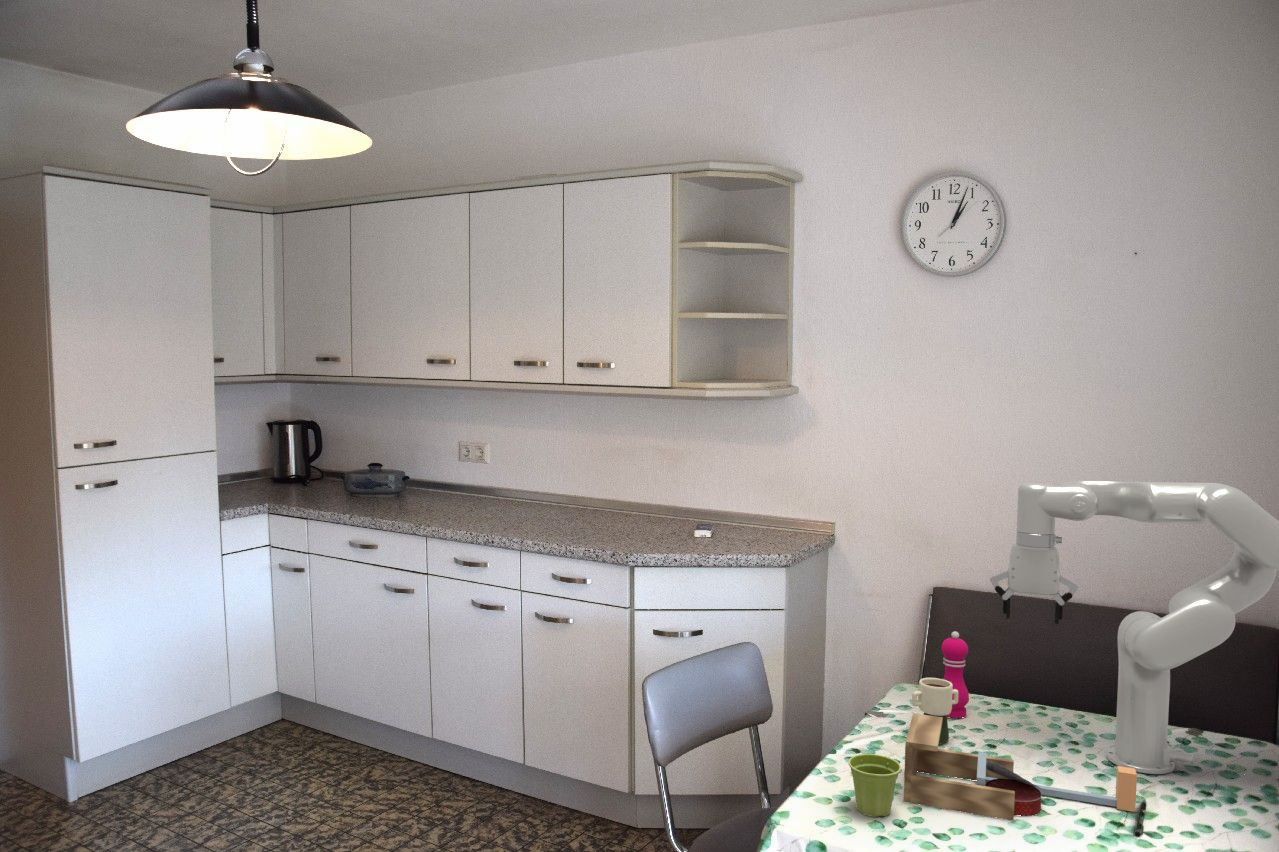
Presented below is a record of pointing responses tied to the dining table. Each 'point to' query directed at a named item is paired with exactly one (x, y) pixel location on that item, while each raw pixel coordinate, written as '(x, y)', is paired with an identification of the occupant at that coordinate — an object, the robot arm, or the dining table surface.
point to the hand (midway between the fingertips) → (1031, 619)
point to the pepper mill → (956, 672)
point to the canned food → (1017, 790)
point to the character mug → (936, 701)
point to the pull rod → (1122, 801)
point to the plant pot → (874, 783)
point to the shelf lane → (950, 774)
